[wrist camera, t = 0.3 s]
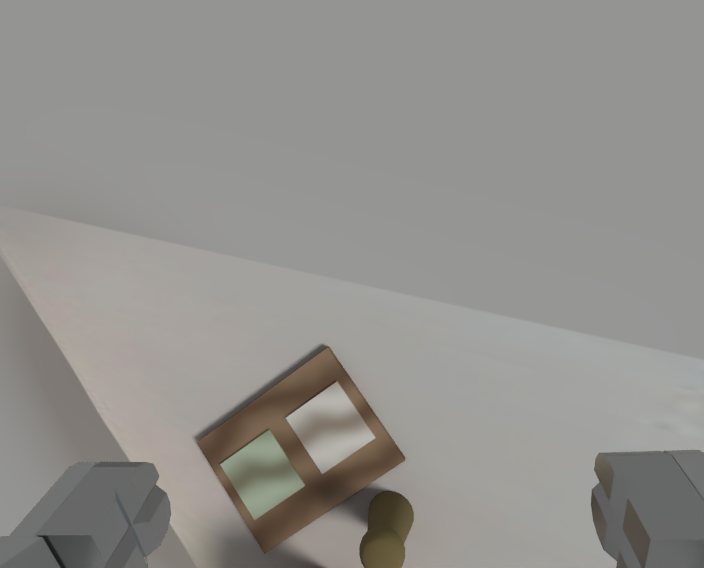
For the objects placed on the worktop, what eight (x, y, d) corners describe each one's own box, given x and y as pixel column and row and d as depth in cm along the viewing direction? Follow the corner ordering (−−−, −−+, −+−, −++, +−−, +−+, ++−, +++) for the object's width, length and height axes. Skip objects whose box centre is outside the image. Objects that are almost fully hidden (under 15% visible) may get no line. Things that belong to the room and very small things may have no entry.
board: (405, 457, 60) (404, 461, 59) (267, 549, 64) (263, 554, 62) (329, 346, 63) (326, 347, 62) (200, 440, 66) (195, 443, 65)
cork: (361, 501, 61) (344, 543, 51) (400, 484, 60) (392, 523, 50) (381, 544, 61) (368, 596, 50) (421, 527, 60) (417, 576, 49)
